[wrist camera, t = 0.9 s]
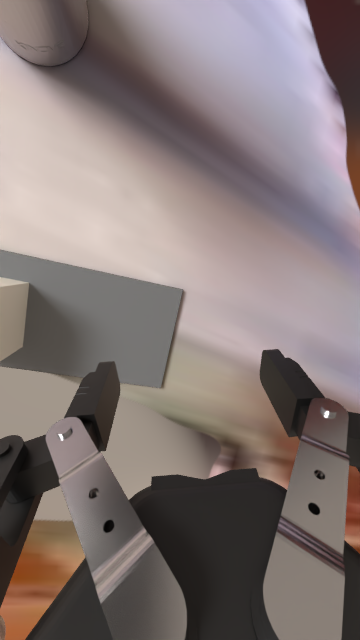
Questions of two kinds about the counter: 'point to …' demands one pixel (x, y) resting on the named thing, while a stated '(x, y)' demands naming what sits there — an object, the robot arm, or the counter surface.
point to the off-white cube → (12, 315)
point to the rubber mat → (91, 321)
